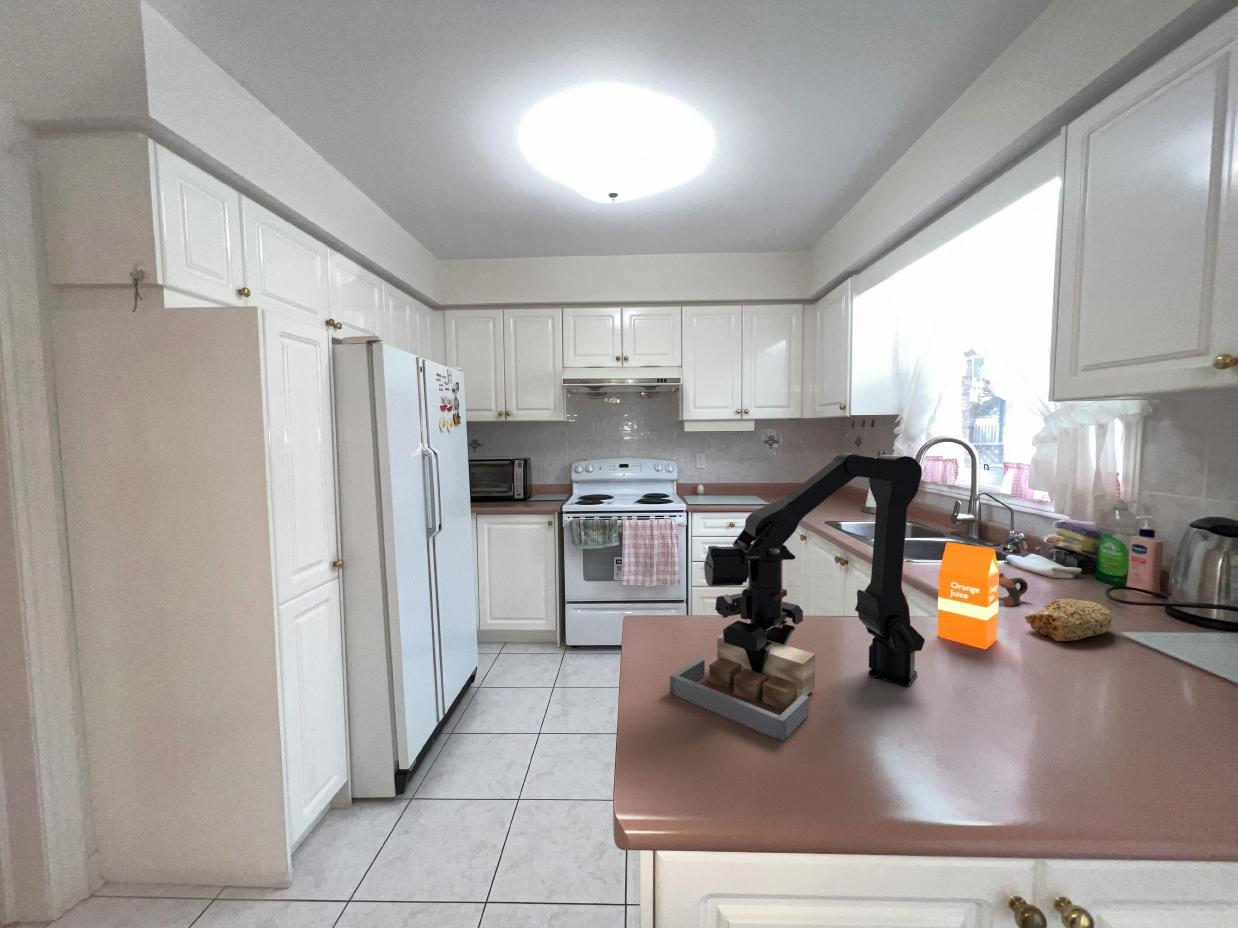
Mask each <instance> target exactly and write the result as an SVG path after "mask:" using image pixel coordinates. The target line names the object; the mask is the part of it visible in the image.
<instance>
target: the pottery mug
mask: <svg viewBox="0 0 1238 928" xmlns="http://www.w3.org/2000/svg"><path fill="white" fill-rule="evenodd" d="M1017 584H1019V585H1020V586H1019V589H1018V588H1017ZM999 587H1001V588H1003V589H1005V590H1006V591H1007V593H1008V595H1007V596H1004V597H1002V598H1001V600H1002V601H1003V603H1004V606H1005V607H1010V606H1014V605H1021V596H1022V595H1025V593H1026V592H1027V591H1028V589H1029V588H1028V587H1029V585H1028V582H1027V581H1026V579H1024V578H1022V577H1013V578H1008V577H1006V576H1005V575H1004V573H1003V572H999Z"/></svg>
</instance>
